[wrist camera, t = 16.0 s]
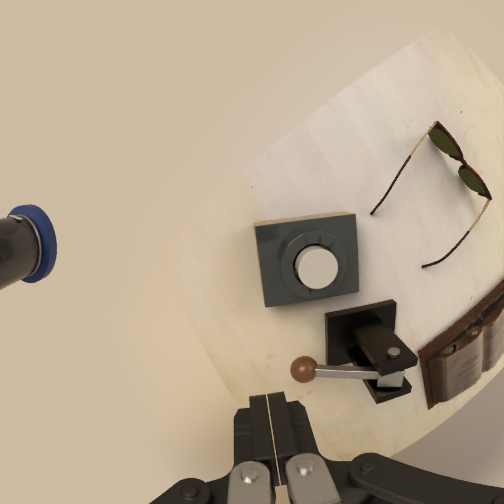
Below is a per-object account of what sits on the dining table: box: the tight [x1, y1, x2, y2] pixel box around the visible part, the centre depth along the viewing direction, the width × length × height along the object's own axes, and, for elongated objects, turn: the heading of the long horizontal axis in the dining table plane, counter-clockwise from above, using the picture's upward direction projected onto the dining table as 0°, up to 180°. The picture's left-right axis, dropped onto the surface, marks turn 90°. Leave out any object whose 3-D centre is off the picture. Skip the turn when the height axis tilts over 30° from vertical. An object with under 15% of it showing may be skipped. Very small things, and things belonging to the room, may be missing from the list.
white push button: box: [295, 246, 338, 289], centre depth 27 cm, size 4×4×2 cm
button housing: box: [253, 212, 359, 307], centre depth 30 cm, size 11×9×5 cm
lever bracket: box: [325, 299, 418, 404], centre depth 30 cm, size 10×8×12 cm
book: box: [418, 280, 504, 409], centre depth 36 cm, size 20×28×4 cm
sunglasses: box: [370, 121, 492, 268], centre depth 30 cm, size 14×15×5 cm
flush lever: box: [290, 356, 404, 387], centre depth 28 cm, size 13×3×3 cm, turn 98°
